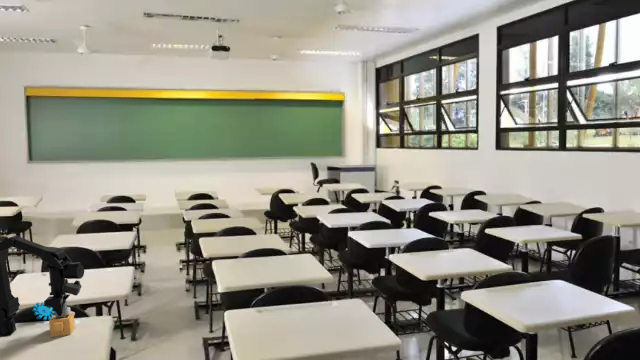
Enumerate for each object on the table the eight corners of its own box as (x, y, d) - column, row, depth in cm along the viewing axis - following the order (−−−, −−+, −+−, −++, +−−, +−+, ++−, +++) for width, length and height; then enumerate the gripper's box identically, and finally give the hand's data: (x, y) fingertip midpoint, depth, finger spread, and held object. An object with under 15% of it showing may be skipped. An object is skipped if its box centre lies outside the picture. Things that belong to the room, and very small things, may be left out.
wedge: (55, 322, 208) (54, 304, 207) (57, 320, 210) (56, 302, 209) (66, 321, 208) (64, 303, 207) (68, 319, 211) (66, 301, 210)
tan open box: (48, 338, 204) (46, 319, 203) (59, 325, 218) (58, 306, 217) (69, 336, 205) (67, 317, 204) (78, 323, 219) (77, 304, 218)
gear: (42, 320, 219) (29, 304, 221) (35, 329, 220) (22, 312, 222) (61, 314, 230) (48, 298, 232) (53, 323, 231) (41, 307, 233)
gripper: (71, 284, 199) (75, 321, 201) (84, 270, 218) (87, 304, 219) (41, 286, 197) (45, 324, 199) (56, 273, 215) (60, 307, 217)
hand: (61, 314), depth 209 cm, fingers closed on wedge, 2 cm apart
